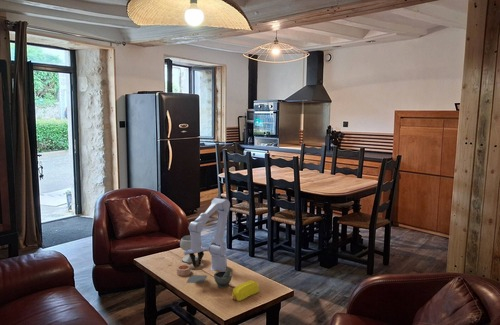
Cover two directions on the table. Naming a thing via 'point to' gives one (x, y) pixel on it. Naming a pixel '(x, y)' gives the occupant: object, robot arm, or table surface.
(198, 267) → the lid
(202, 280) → the mat
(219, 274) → the mortar and pestle
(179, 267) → the bowl
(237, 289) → the yellow rounded block
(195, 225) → the robot arm
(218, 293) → the table surface
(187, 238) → the chalice
